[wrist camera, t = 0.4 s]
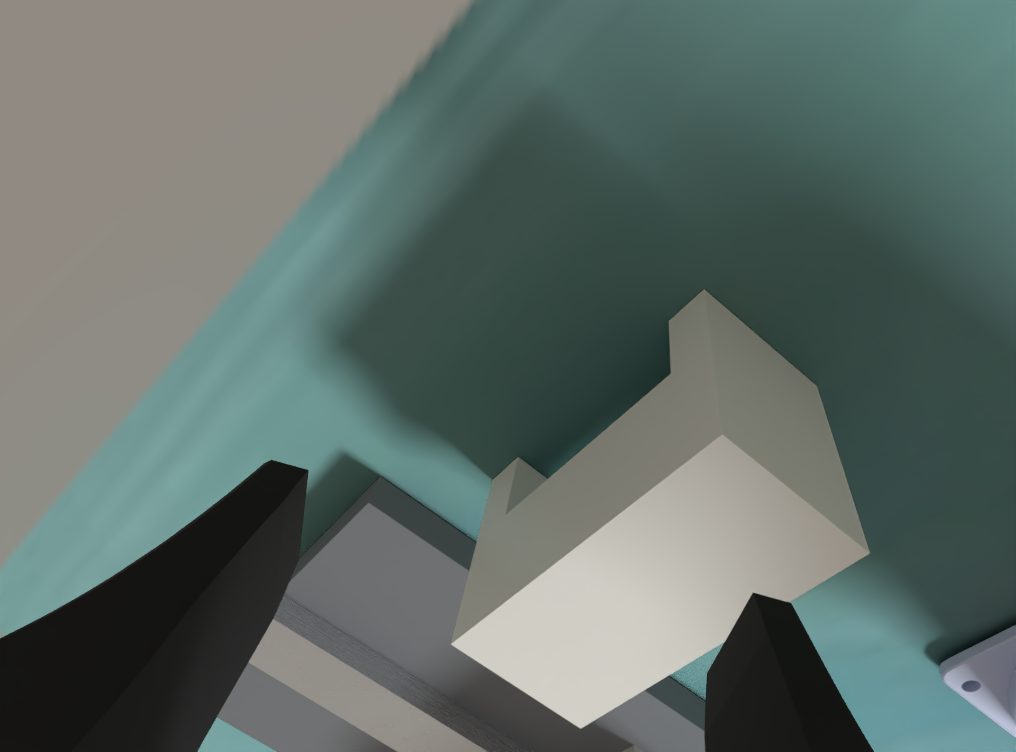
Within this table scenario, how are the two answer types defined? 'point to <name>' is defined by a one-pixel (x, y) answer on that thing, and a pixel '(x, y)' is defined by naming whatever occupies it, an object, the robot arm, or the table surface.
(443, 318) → the table surface
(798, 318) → the table surface
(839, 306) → the table surface
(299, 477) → the robot arm
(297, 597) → the rail board
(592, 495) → the block
